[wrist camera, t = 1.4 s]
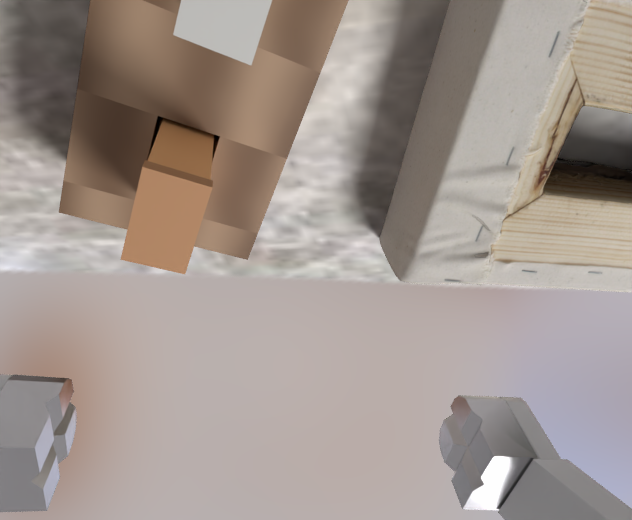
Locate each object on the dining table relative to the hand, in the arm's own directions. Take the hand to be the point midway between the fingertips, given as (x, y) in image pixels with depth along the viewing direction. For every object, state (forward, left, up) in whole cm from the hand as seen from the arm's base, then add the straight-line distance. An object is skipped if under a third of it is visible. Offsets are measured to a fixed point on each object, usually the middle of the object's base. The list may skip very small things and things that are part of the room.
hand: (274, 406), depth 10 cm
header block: (-3, +1, -27) cm, 27 cm away
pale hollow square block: (+28, +6, -28) cm, 40 cm away
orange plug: (-3, -4, -25) cm, 25 cm away
